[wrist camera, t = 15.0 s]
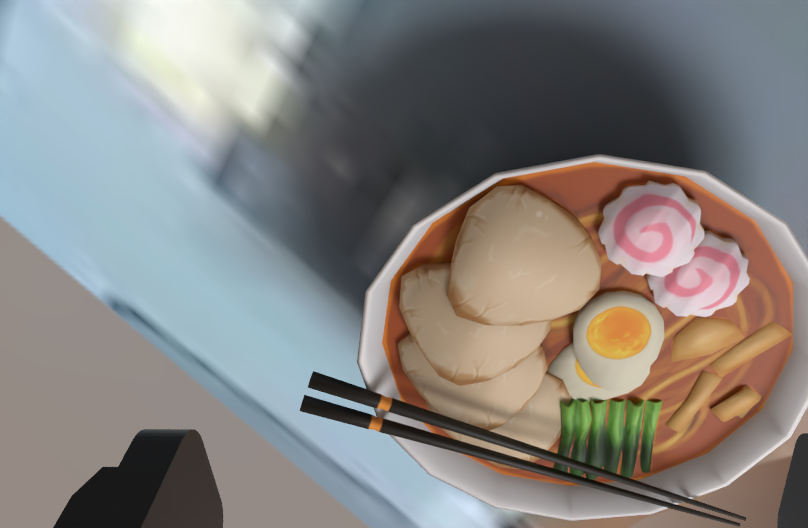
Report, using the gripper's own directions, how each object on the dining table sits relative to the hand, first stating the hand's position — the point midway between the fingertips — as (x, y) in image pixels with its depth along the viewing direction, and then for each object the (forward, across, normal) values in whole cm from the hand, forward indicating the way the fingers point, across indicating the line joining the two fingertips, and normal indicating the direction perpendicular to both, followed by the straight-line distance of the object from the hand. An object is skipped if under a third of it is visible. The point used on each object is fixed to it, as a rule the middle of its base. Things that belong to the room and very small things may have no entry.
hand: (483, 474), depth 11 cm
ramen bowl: (+30, -4, +17) cm, 35 cm away
